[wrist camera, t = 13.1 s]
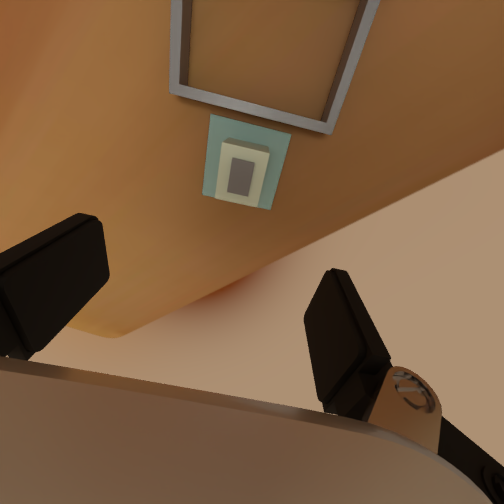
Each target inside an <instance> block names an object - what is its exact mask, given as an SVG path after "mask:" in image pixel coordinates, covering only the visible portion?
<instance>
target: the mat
mask: <svg viewBox="0 0 504 504" xmlns="http://www.w3.org/2000/svg"><path fill="white" fill-rule="evenodd" d="M229 137H230V138H235V139H239V140H243V141H247V142H251V143H255V144H260V145H264V146H268V147H269V152H270V155H269V159H268V163H267V167H266V172H265V176H264V180H263V184H262V189H261V193H260V197H259V202H258V206H257V207H259V208H264V209H268V210H271V206H272V203H273V199H274V195H275V192H276V188H277V185H278V181H279V177H280V174H281V170H282V167H283V163H284V159H285V156H286V152H287V149H288V145H289V142H290V138H291V134H288V133H284V132H280V131H276V130H272V129H268V128H264V127H261V126H257V125H253V124H249V123H245V122H241V121H237V120H233V119H229V118H225V117H221V116H217V115H214V114H211V116H210V125H209V134H208V144H207V153H206V163H205V172H204V182H203V191H202V195H206V196H210V197H215V193H216V185H217V177H218V169H219V162H220V154H221V146H222V142H223V141H224V140H226V139H227V138H229Z"/></svg>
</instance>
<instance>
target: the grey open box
mask: <svg viewBox="0 0 504 504" xmlns="http://www.w3.org/2000/svg"><path fill="white" fill-rule="evenodd" d="M379 2H380V0H360V3H359V6H358V9H357V12H356V15H355V18H354V21H353V24H352V27H351V30H350V33H349V37H348V40H347V43H346V46H345V49H344V52H343V55H342V58H341V61H340V64H339V67H338V70H337V73H336V76H335V79H334V82H333V85H332V88H331V91H330V94H329V97H328V100H327V103H326V106H325V109H324V112H323V115H322V118H321V121H317V120H314V119H310V118H306V117H302V116H298V115H295V114H291V113H287V112H283V111H279V110H276V109H272V108H268V107H264V106H260V105H257V104H253V103H249V102H245V101H241V100H238V99H234V98H230V97H226V96H222V95H219V94H215V93H211V92H207V91H204V90H200V89H196V88H192V87H188V86H187V84H188V67H189V49H190V31H191V13H192V0H171V28H170V74H169V93H171V94H174V95H178V96H182V97H186V98H190V99H194V100H198V101H201V102H205V103H209V104H213V105H217V106H221V107H225V108H228V109H232V110H236V111H240V112H244V113H248V114H252V115H255V116H259V117H263V118H267V119H271V120H275V121H279V122H282V123H286V124H290V125H294V126H298V127H302V128H306V129H309V130H313V131H317V132H321V133H325V134H329V135H332V132H333V129H334V127H335V124H336V121H337V118H338V116H339V113H340V110H341V107H342V105H343V102H344V99H345V96H346V94H347V91H348V88H349V85H350V83H351V80H352V77H353V74H354V71H355V69H356V66H357V63H358V60H359V58H360V55H361V52H362V49H363V47H364V44H365V41H366V38H367V36H368V33H369V30H370V27H371V25H372V22H373V19H374V16H375V13H376V11H377V8H378V5H379Z"/></svg>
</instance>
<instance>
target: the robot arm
mask: <svg viewBox="0 0 504 504" xmlns="http://www.w3.org/2000/svg"><path fill="white" fill-rule="evenodd" d="M109 276H110V273H109V266H108V259H107V253H106V246H105V239H104V232H103V226H102V223H101V221H99V220H98V218H97V217H96V216H92V215H87V214H83V213H77V214H75V215H73V216H71V217H69V218H67V219H65V220H63V221H61V222H59V223H57V224H55V225H54V226H52V227H50V228H48V229H46V230H44V231H42V232H40V233H38V234H36V235H34V236H33V237H31V238H29V239H27V240H25V241H23V242H21V243H19V244H17V245H15V246H13V247H11V248H10V249H8V250H6V251H4V252H2V253H0V504H504V467H503V466H502V465H501V464H500V463H498V462H497V461H496V460H495V459H493V458H492V457H491V456H490V455H489V454H487V453H486V452H485V451H484V450H482V449H481V448H480V447H479V446H478V445H476V444H475V443H474V442H473V441H472V440H470V439H469V438H468V437H467V436H466V435H464V434H463V433H462V432H461V431H459V430H458V429H457V428H456V427H455V426H454V425H452V424H451V423H450V422H449V421H447V420H446V419H445V418H444V417H443V416H442V408H441V404H440V402H439V399H438V397H437V395H436V394H435V392H434V391H433V389H432V388H431V387H430V386H429V385H428V384H427V382H425V380H423V379H422V378H421V377H420V376H418V375H417V374H416V373H414V372H412V371H411V370H409V369H406V368H404V367H398V366H395V367H393V366H392V364H391V362H390V359H391V357H390V355H389V353H388V351H387V349H386V347H385V345H384V343H383V341H382V339H381V337H380V335H379V333H378V331H377V329H376V327H375V326H374V323H373V321H372V319H371V318H370V315H369V314H368V312H367V310H366V308H365V306H364V304H363V302H362V300H361V298H360V296H359V294H358V292H357V290H356V288H355V286H354V284H353V282H352V280H351V278H350V276H349V275H348V273H347V271H344V270H339V269H335V268H332V269H331V270H330V271H328V270H327V271H326V272H325V274H324V276H323V278H322V280H321V282H320V284H319V286H318V288H317V290H316V292H315V294H314V296H313V298H312V300H311V302H310V304H309V306H308V308H307V310H306V312H305V315H304V324H305V331H306V336H307V341H308V347H309V353H310V358H311V364H312V370H313V375H314V381H315V386H316V392H317V397H318V399H319V401H321V402H322V404H323V409H324V412H325V413H322V412H317V411H312V410H307V409H302V408H297V407H292V406H286V405H280V404H274V403H269V402H263V401H257V400H252V399H247V398H241V397H235V396H230V395H224V394H219V393H213V392H208V391H202V390H196V389H190V388H184V387H178V386H173V385H167V384H161V383H156V382H150V381H144V380H138V379H132V378H127V377H121V376H115V375H109V374H103V373H97V372H92V371H85V370H80V369H74V368H68V367H61V366H55V365H50V364H44V363H38V362H32V361H28V359H30V357H31V356H32V355H33V354H34V353H35V352H38V351H41V350H42V349H43V348H44V347H45V346H46V345H47V344H48V343H49V342H50V341H51V340H52V339H53V338H54V337H55V336H56V335H57V334H58V333H59V332H60V331H61V330H62V329H63V328H64V326H65V325H66V324H67V323H68V322H69V321H70V320H71V319H72V318H73V317H74V316H75V315H76V314H77V313H78V312H79V311H80V310H81V309H82V308H83V307H84V306H85V304H86V303H87V302H88V301H89V300H90V299H91V298H92V297H93V296H94V295H95V294H96V293H97V292H98V291H99V290H100V289H101V288H102V287H103V286H104V285H105V283H106V282H107V281H108V279H109ZM7 355H8V356H9V358H8V357H6V356H7ZM327 413H331V414H327ZM332 414H337V415H338V416H337V415H332Z"/></svg>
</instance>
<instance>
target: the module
mask: <svg viewBox="0 0 504 504" xmlns="http://www.w3.org/2000/svg"><path fill="white" fill-rule="evenodd" d="M269 155H270V152H269V147H268V146H264V145H260V144H255V143H251V142H247V141H243V140H239V139H235V138H230V137H229V138H227V139H226V140H224V141H223V142H222V146H221V154H220V162H219V169H218V177H217V185H216V193H215V199H220V200H224V201H229V202H233V203H238V204H243V205H247V206H252V207H256V208H257V206H258V202H259V197H260V193H261V189H262V184H263V180H264V176H265V172H266V167H267V163H268V159H269Z"/></svg>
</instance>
